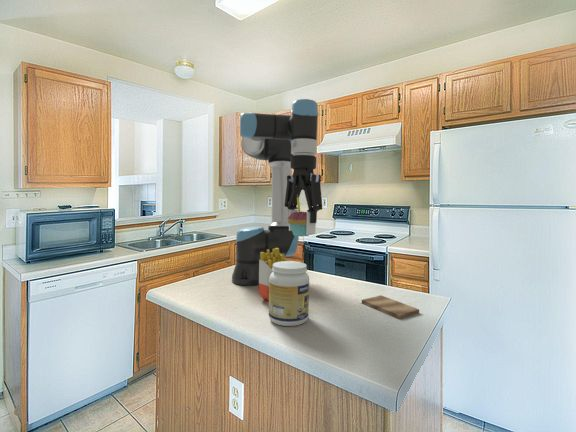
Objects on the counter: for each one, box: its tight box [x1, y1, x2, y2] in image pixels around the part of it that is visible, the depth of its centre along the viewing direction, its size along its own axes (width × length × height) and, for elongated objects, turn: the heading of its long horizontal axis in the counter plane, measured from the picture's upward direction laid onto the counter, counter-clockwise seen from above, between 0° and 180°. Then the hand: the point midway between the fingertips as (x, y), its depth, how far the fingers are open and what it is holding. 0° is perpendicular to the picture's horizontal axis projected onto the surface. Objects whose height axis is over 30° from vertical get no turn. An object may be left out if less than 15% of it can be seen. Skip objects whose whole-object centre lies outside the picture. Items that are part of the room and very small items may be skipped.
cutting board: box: [361, 294, 420, 320], centre depth 105 cm, size 16×10×1 cm, turn 32°
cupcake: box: [288, 195, 310, 237], centre depth 92 cm, size 9×8×12 cm
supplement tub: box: [268, 260, 310, 327], centre depth 94 cm, size 12×12×17 cm
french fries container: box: [258, 248, 288, 302], centre depth 111 cm, size 5×11×18 cm, turn 139°
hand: (301, 232), depth 92 cm, fingers closed on cupcake, 8 cm apart
